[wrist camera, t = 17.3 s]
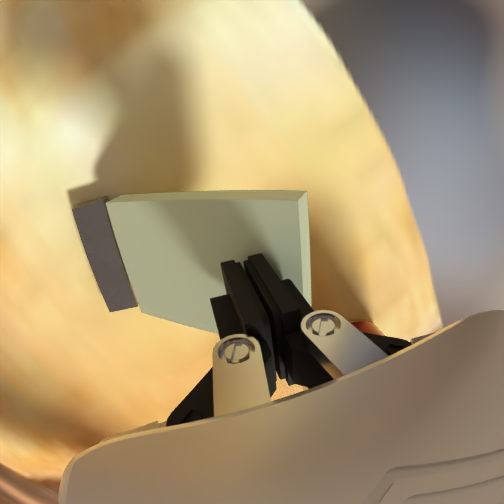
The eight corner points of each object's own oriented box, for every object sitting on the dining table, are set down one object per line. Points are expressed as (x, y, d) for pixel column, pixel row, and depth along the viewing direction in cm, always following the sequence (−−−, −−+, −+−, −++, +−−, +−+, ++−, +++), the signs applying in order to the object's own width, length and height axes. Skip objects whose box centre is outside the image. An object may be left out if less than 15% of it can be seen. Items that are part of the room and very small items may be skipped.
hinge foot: (138, 297, 18) (137, 306, 18) (112, 303, 18) (109, 312, 17) (106, 196, 15) (103, 200, 14) (77, 204, 15) (72, 209, 14)
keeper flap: (153, 301, 18) (311, 334, 14) (141, 312, 17) (304, 352, 13) (121, 195, 15) (306, 190, 11) (105, 202, 14) (298, 200, 10)
